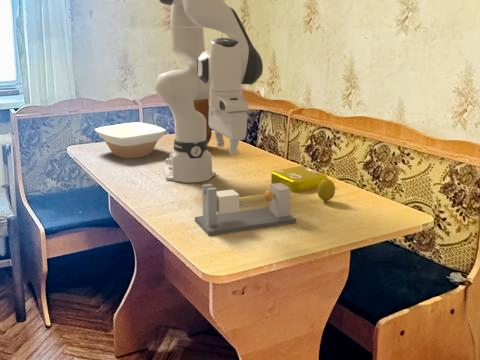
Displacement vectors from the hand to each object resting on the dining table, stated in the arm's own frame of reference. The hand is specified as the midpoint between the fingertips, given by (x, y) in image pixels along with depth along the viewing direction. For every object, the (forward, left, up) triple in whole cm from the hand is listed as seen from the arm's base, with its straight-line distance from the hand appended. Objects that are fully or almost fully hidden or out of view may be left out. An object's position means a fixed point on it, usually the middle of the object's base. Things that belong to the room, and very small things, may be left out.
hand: (226, 150), depth 163 cm
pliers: (-19, +7, -23) cm, 30 cm away
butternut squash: (-87, +20, -22) cm, 92 cm away
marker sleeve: (0, 0, -18) cm, 18 cm away
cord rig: (0, +6, -22) cm, 23 cm away
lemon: (-7, +37, -22) cm, 44 cm away
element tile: (-27, +38, -23) cm, 52 cm away
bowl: (-89, -8, -22) cm, 92 cm away
